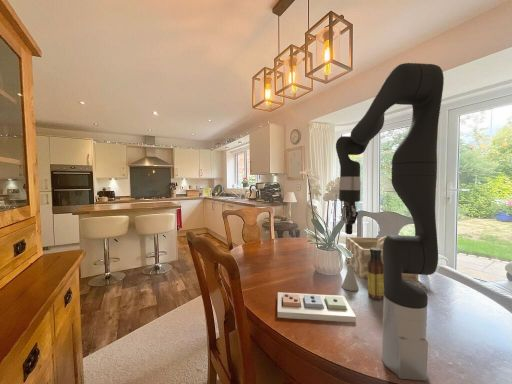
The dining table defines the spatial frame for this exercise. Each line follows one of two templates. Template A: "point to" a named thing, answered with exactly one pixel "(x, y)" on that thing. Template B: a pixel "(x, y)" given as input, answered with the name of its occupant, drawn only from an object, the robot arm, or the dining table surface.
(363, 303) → the dining table surface
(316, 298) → the tile two
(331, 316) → the board
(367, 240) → the woven basket
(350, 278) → the flask
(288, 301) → the tile three
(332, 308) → the tile one
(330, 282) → the dining table surface
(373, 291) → the sauce bottle
